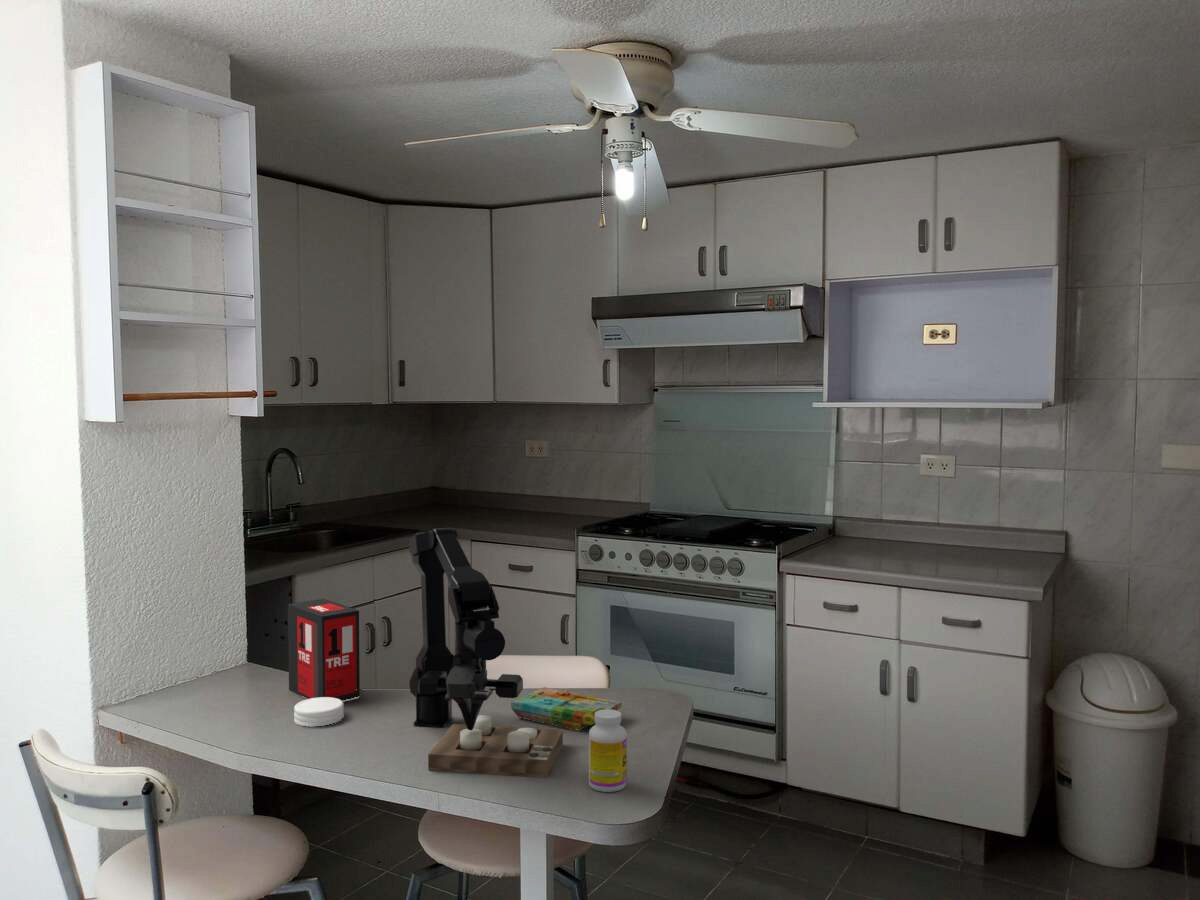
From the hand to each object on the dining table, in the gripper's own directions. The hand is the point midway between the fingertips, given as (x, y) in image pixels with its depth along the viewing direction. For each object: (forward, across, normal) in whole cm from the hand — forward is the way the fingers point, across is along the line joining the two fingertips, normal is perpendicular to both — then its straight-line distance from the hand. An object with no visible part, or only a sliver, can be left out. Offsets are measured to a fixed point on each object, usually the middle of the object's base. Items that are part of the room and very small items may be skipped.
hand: (470, 729), depth 176 cm
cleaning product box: (+6, -44, +34) cm, 55 cm away
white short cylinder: (+6, -38, +18) cm, 42 cm away
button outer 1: (+3, 0, 0) cm, 3 cm away
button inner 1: (+3, 0, +7) cm, 8 cm away
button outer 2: (+3, +9, 0) cm, 10 cm away
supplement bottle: (+6, +26, -7) cm, 28 cm away
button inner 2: (+5, +9, +7) cm, 13 cm away
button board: (+6, +4, +3) cm, 8 cm away
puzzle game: (+6, +14, +26) cm, 30 cm away
